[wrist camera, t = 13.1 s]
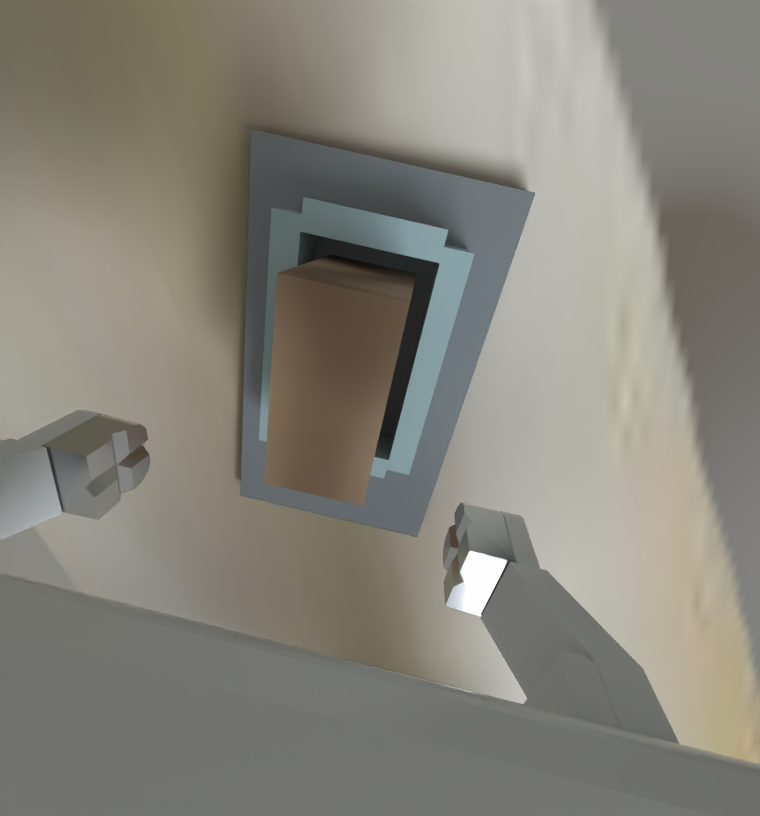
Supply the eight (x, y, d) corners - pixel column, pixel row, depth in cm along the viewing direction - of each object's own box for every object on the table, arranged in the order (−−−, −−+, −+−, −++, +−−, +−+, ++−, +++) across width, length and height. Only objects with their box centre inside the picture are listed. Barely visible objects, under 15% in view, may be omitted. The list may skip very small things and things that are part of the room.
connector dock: (417, 525, 25) (416, 568, 22) (246, 485, 25) (221, 522, 22) (529, 194, 16) (554, 187, 13) (260, 134, 16) (220, 112, 13)
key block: (416, 273, 17) (410, 302, 11) (381, 421, 21) (362, 506, 14) (331, 254, 17) (277, 272, 11) (312, 404, 21) (263, 483, 15)
